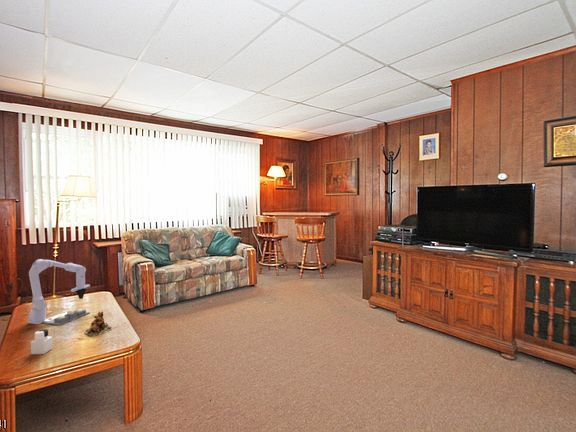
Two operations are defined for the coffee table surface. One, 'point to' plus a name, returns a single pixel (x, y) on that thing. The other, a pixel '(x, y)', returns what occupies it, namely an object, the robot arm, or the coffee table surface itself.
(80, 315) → the console
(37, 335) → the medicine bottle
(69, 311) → the button middle
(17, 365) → the coffee table surface
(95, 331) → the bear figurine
